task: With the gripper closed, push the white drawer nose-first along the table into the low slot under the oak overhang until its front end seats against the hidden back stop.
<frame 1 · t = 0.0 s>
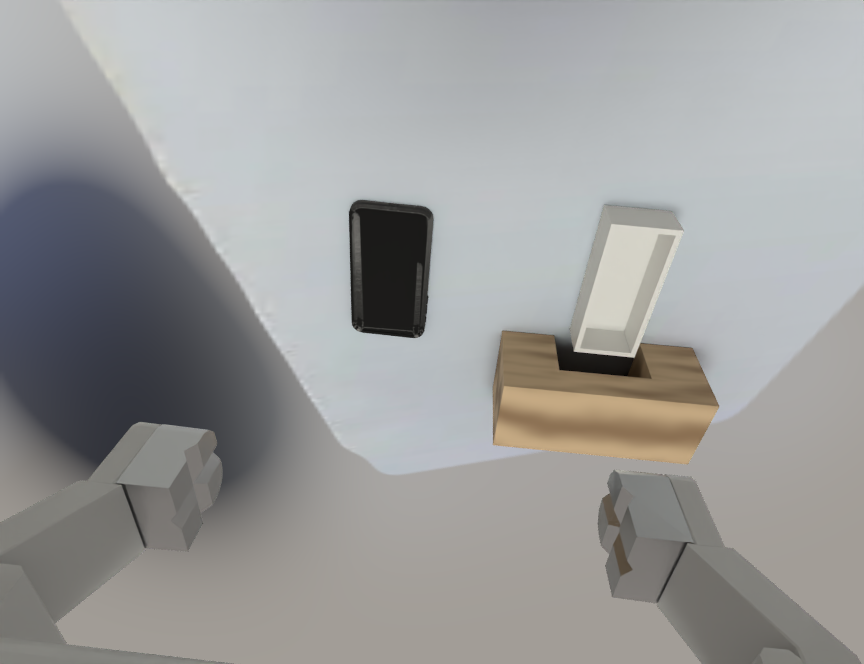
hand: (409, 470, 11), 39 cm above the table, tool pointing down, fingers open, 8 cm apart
white drawer: (615, 273, 52), on the table
overhang dock: (587, 369, 60), on the table
phone: (391, 269, 55), on the table
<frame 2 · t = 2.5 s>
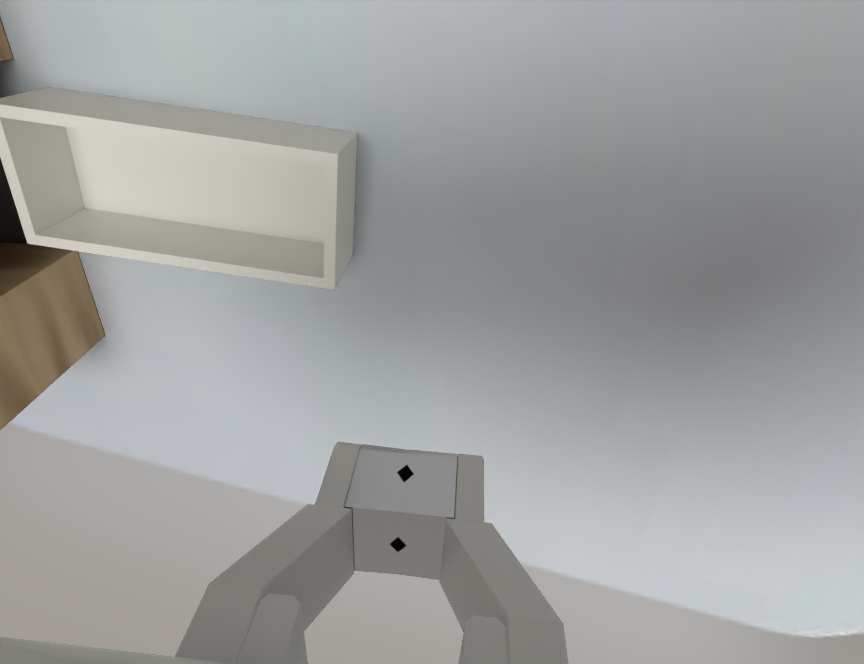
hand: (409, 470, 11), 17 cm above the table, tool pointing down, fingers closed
white drawer: (212, 174, 26), on the table
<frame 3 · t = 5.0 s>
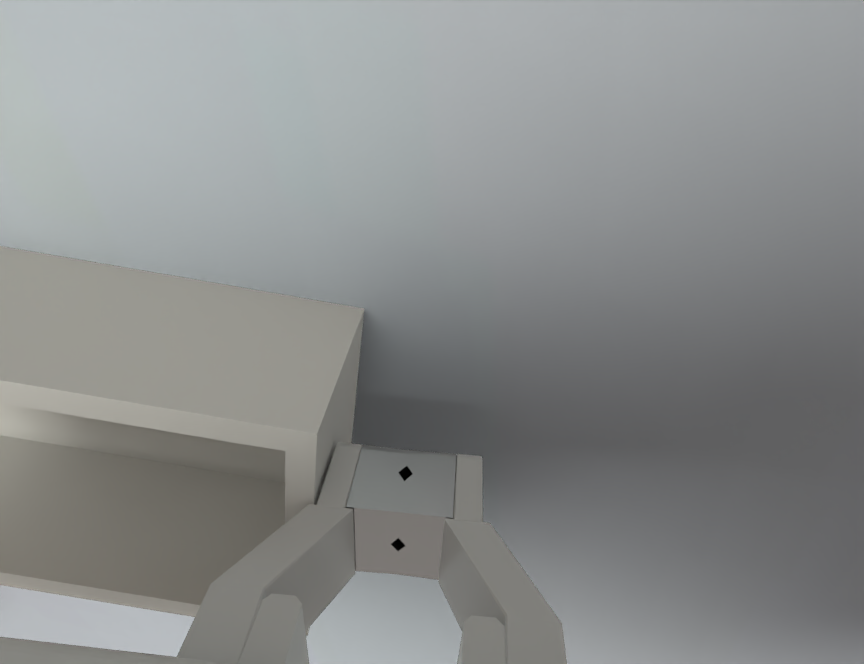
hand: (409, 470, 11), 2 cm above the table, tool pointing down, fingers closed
white drawer: (75, 362, 13), on the table, touching gripper
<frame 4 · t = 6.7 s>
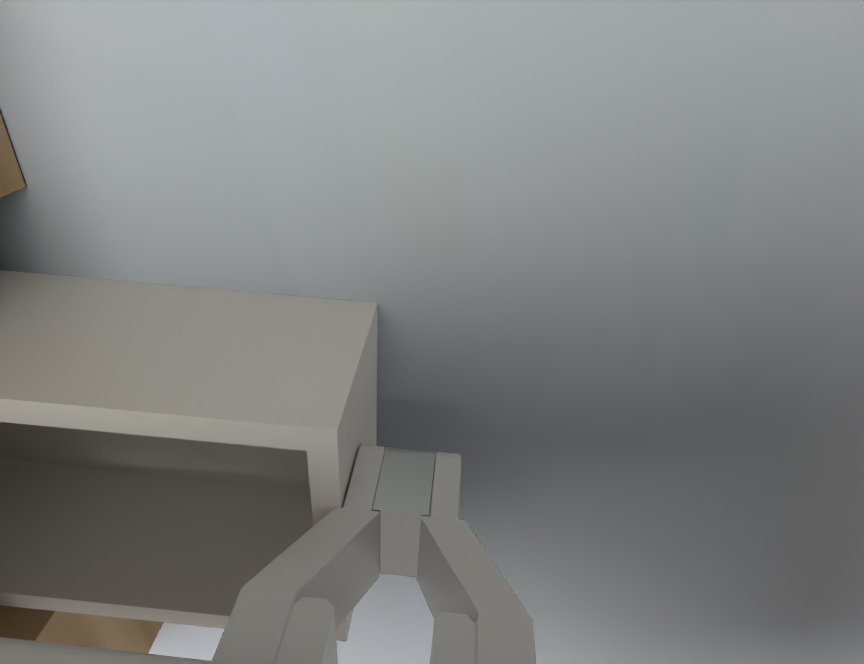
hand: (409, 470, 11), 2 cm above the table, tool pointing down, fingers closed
white drawer: (96, 383, 13), on the table, touching gripper, overhang dock
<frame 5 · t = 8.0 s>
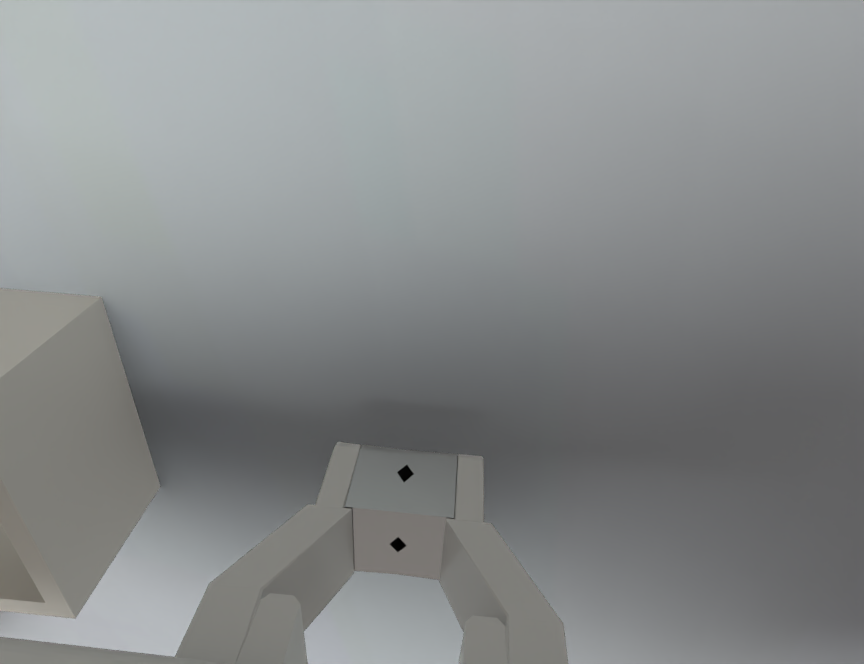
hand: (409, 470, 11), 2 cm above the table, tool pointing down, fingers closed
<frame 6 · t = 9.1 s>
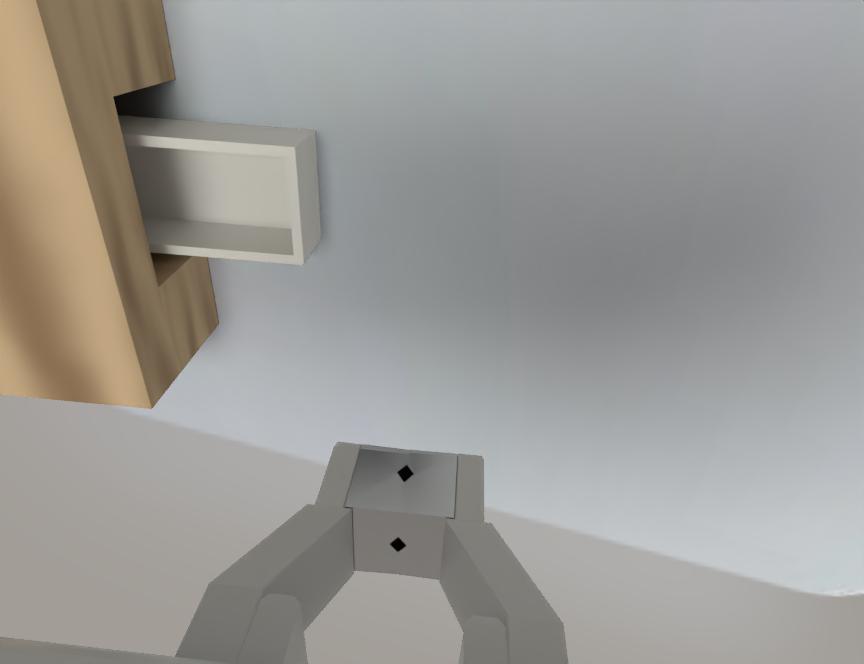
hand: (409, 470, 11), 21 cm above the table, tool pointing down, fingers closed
white drawer: (195, 175, 30), on the table
overhang dock: (115, 162, 30), on the table
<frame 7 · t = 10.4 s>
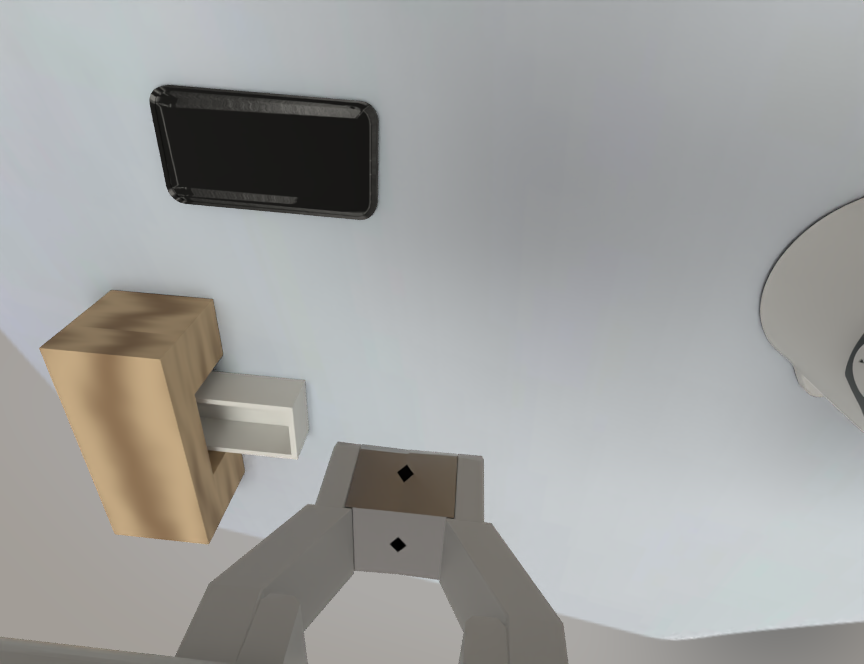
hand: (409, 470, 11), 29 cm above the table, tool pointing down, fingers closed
white drawer: (233, 396, 50), on the table
overhang dock: (185, 390, 49), on the table
phone: (272, 152, 38), on the table
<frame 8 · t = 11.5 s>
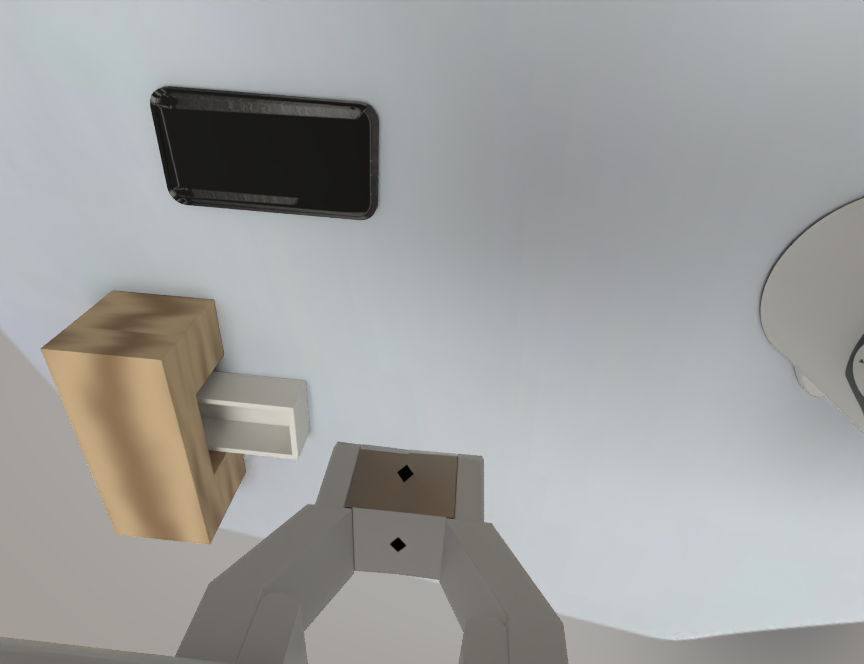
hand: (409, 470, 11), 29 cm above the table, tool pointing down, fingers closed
white drawer: (233, 396, 50), on the table
overhang dock: (186, 390, 49), on the table
phone: (273, 153, 38), on the table
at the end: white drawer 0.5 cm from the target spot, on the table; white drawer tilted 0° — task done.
